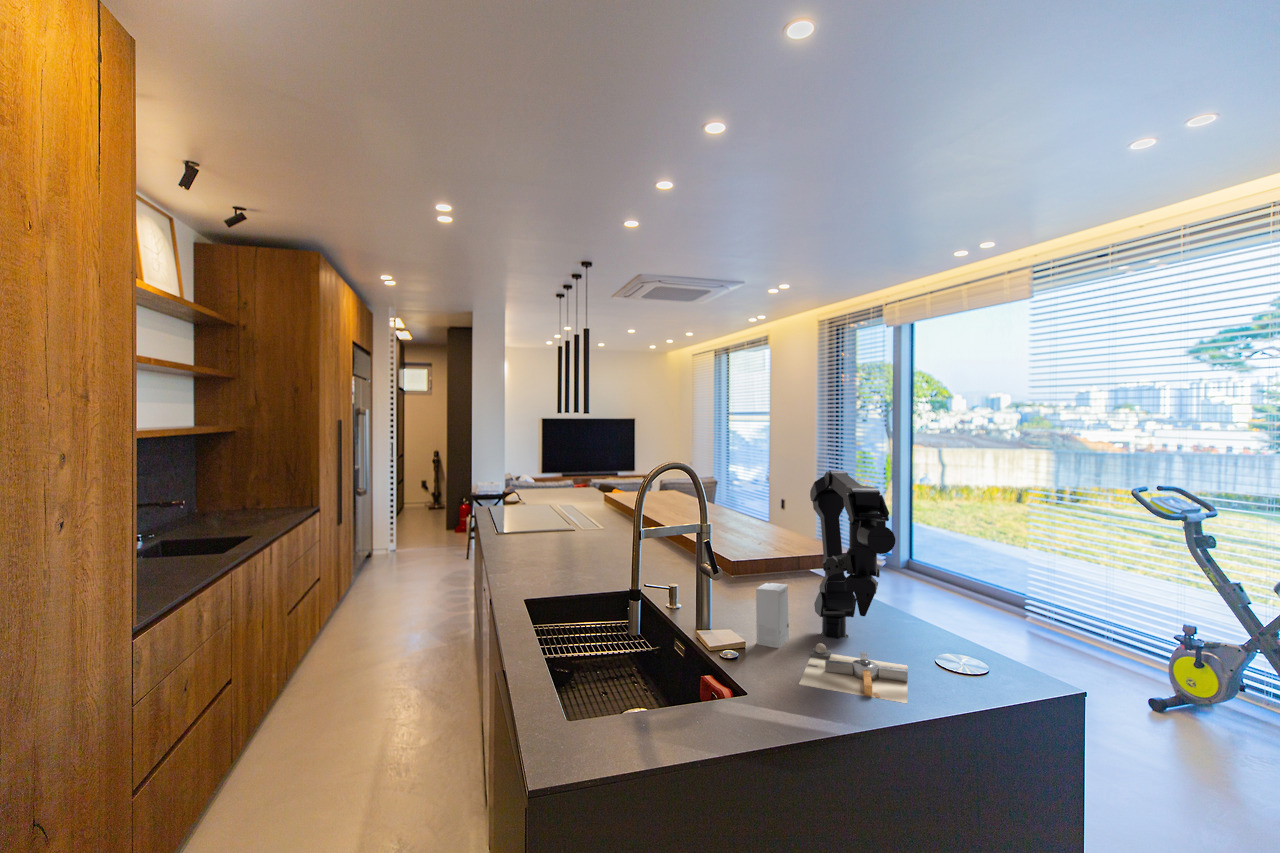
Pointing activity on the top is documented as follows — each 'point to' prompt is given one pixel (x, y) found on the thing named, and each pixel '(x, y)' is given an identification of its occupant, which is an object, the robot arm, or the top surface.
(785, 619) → the skincare box
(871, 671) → the capstan
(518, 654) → the top surface
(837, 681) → the board with rotating cross
